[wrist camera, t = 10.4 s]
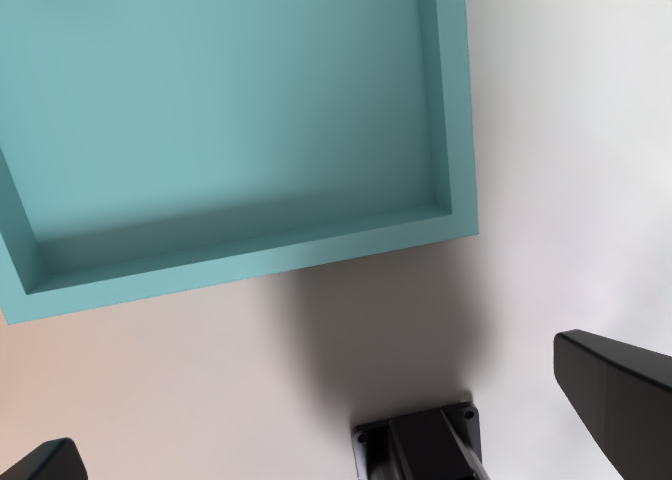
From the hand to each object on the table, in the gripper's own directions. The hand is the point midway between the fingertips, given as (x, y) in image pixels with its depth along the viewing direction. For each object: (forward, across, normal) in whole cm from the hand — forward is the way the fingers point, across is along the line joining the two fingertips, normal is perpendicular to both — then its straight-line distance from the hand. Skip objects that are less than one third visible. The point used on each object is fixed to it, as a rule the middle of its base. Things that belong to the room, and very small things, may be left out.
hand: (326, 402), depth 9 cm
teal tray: (+12, +2, -8) cm, 15 cm away
